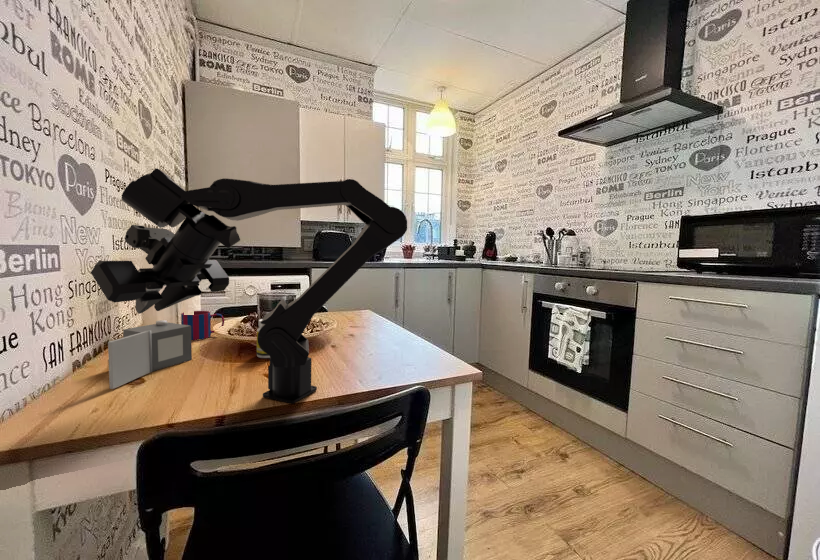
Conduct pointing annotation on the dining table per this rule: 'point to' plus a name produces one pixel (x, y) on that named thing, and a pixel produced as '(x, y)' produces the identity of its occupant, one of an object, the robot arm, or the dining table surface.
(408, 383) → the dining table surface
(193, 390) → the dining table surface
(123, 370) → the side door
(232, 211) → the robot arm
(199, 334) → the mug
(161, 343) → the camera body
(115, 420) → the dining table surface
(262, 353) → the supplement bottle
